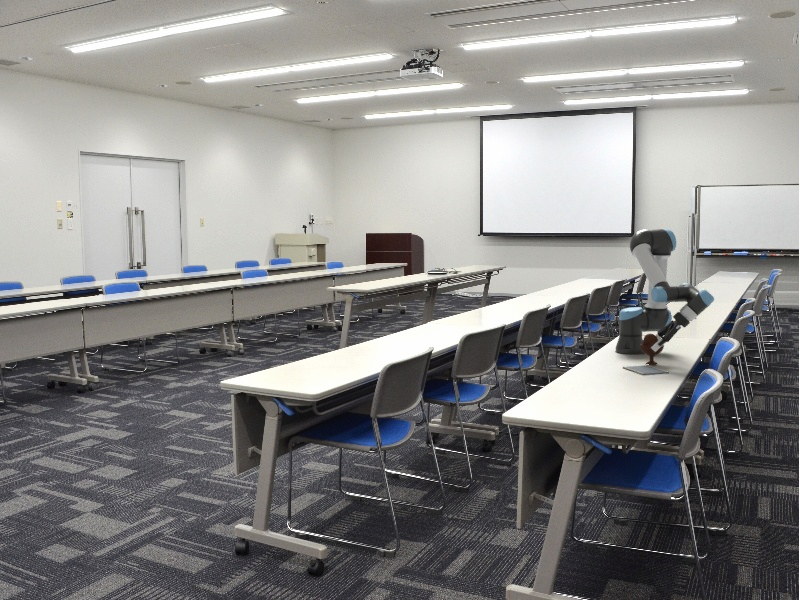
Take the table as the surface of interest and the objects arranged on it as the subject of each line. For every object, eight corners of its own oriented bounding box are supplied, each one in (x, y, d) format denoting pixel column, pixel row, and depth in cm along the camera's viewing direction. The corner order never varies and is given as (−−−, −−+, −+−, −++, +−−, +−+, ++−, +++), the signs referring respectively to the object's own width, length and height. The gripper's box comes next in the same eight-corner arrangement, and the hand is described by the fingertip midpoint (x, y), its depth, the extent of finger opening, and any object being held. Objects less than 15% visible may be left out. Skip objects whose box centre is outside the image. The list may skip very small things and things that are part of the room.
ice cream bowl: (665, 366, 337) (666, 335, 336) (640, 366, 339) (641, 334, 338) (662, 362, 347) (662, 332, 346) (638, 362, 350) (638, 331, 348)
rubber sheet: (622, 368, 335) (622, 366, 335) (647, 366, 338) (647, 365, 338) (642, 375, 319) (642, 373, 318) (668, 373, 321) (668, 371, 321)
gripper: (695, 325, 325) (660, 357, 330) (685, 319, 350) (652, 348, 354) (683, 314, 326) (648, 346, 330) (674, 308, 350) (641, 338, 355)
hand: (650, 347), depth 342 cm, fingers open, 13 cm apart
